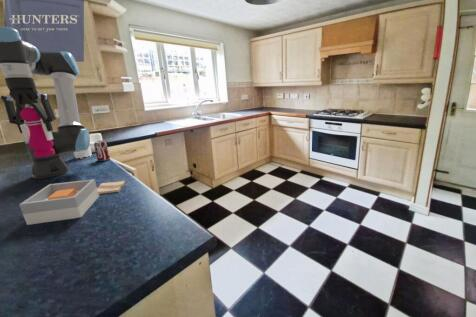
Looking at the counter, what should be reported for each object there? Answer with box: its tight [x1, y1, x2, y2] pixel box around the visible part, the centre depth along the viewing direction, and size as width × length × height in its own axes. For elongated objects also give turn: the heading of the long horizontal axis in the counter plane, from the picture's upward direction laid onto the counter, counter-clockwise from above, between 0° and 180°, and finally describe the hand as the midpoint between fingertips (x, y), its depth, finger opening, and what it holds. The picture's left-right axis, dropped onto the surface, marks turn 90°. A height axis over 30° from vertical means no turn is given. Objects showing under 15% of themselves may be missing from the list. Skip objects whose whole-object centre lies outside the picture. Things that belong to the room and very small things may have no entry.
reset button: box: [48, 188, 77, 200], centre depth 80 cm, size 6×6×4 cm
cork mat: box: [97, 180, 126, 195], centre depth 97 cm, size 10×10×1 cm
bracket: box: [73, 132, 103, 159], centre depth 156 cm, size 25×10×12 cm, turn 3°
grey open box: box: [18, 178, 100, 226], centre depth 80 cm, size 16×16×8 cm
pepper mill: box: [20, 104, 55, 157], centre depth 84 cm, size 7×7×20 cm
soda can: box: [94, 139, 111, 162], centre depth 138 cm, size 7×7×12 cm
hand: (39, 140), depth 85 cm, fingers closed on pepper mill, 6 cm apart
